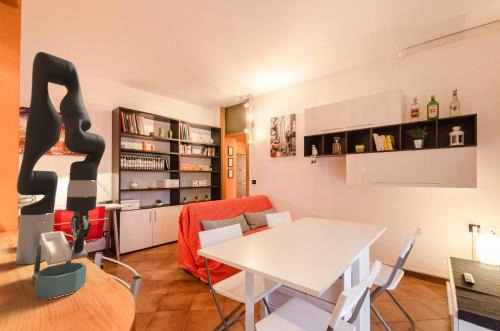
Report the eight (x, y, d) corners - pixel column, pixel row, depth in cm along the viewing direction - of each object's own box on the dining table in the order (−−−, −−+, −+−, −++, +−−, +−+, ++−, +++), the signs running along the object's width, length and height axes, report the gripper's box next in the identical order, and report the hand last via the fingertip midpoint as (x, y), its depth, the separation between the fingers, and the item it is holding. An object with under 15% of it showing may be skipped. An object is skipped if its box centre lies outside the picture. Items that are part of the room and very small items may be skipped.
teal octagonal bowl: (32, 290, 61) (33, 269, 61) (78, 278, 69) (79, 260, 69) (38, 304, 54) (40, 280, 55) (88, 289, 62) (89, 268, 63)
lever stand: (31, 280, 67) (34, 244, 67) (67, 271, 73) (70, 239, 74) (34, 285, 64) (37, 248, 64) (71, 276, 70) (74, 242, 71)
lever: (38, 250, 72) (40, 233, 71) (74, 244, 79) (76, 229, 78) (46, 275, 62) (48, 255, 62) (85, 266, 69) (88, 248, 69)
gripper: (62, 194, 71) (57, 249, 70) (73, 196, 63) (68, 259, 61) (89, 193, 77) (86, 245, 76) (103, 195, 69) (99, 253, 67)
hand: (78, 251), depth 69 cm, fingers closed
